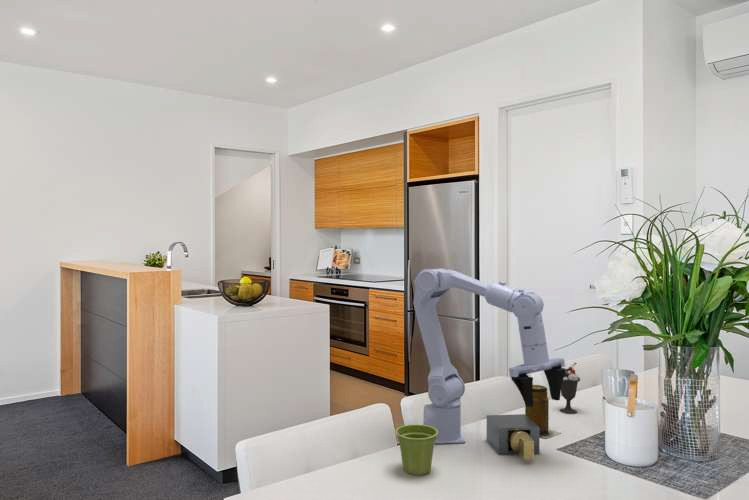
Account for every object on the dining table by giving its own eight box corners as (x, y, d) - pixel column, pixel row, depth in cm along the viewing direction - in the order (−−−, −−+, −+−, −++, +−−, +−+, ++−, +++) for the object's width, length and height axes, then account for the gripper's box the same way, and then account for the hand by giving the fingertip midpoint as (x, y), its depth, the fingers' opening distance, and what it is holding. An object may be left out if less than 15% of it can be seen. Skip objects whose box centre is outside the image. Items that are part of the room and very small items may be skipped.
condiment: (533, 425, 152) (533, 382, 152) (560, 433, 145) (561, 388, 145) (517, 430, 147) (518, 386, 147) (545, 439, 141) (545, 393, 141)
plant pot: (409, 482, 115) (409, 441, 115) (387, 466, 123) (388, 428, 123) (446, 473, 119) (446, 434, 119) (423, 458, 127) (423, 421, 127)
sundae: (583, 414, 161) (584, 364, 161) (561, 414, 161) (561, 364, 161) (575, 408, 168) (576, 359, 168) (553, 408, 168) (554, 359, 168)
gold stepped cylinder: (517, 461, 124) (517, 439, 124) (499, 441, 137) (499, 420, 137) (539, 461, 124) (540, 438, 124) (519, 440, 138) (519, 420, 137)
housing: (498, 454, 130) (498, 428, 130) (486, 440, 140) (486, 415, 140) (539, 453, 131) (539, 427, 131) (524, 439, 141) (524, 414, 141)
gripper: (518, 350, 122) (528, 411, 120) (569, 340, 127) (579, 399, 126) (500, 348, 128) (509, 407, 127) (549, 339, 134) (558, 395, 132)
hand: (542, 402), depth 127 cm, fingers open, 7 cm apart
